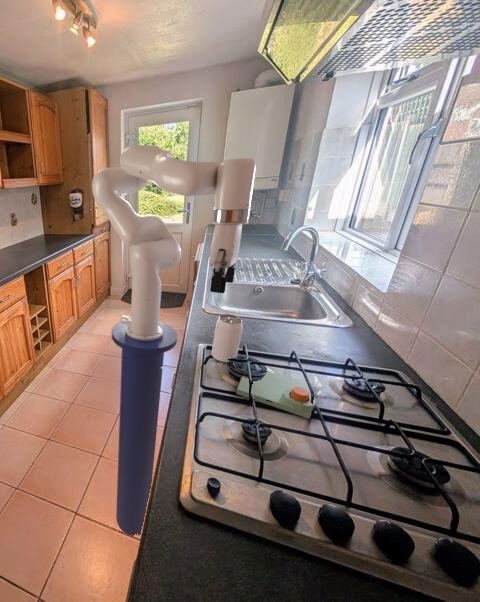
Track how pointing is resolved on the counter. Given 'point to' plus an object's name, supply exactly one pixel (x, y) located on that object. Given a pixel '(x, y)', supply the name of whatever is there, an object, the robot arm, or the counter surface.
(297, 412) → the scale
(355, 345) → the counter surface
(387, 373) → the counter surface
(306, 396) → the tare button
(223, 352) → the can
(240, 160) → the robot arm
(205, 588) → the counter surface
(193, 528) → the counter surface
